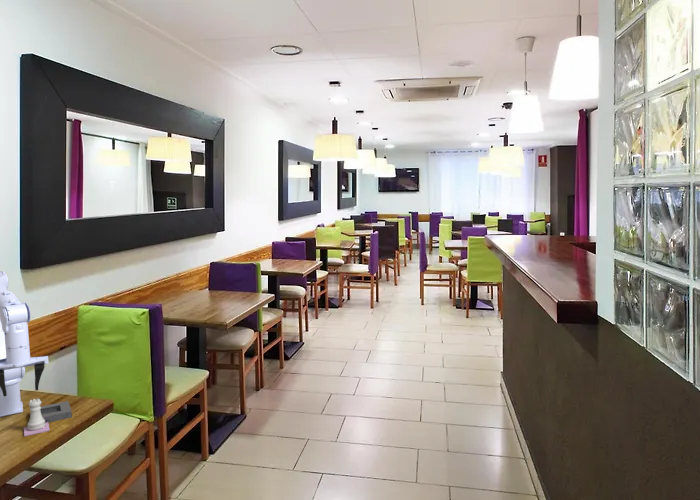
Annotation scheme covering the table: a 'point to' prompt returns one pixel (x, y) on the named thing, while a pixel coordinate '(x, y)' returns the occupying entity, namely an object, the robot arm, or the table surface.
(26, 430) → the mat
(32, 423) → the rook chess piece
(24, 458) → the table surface
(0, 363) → the robot arm
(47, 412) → the socket block
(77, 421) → the table surface
